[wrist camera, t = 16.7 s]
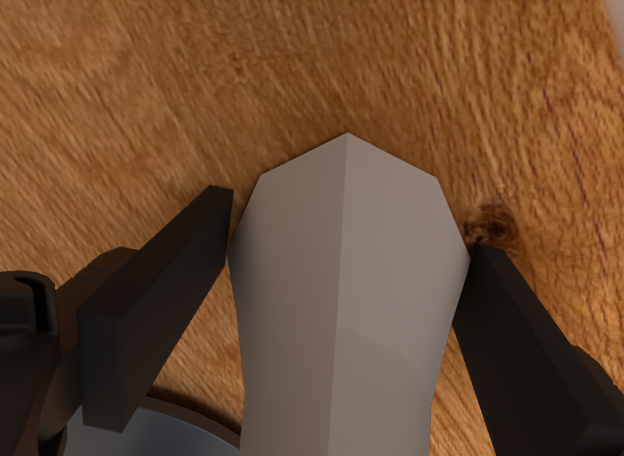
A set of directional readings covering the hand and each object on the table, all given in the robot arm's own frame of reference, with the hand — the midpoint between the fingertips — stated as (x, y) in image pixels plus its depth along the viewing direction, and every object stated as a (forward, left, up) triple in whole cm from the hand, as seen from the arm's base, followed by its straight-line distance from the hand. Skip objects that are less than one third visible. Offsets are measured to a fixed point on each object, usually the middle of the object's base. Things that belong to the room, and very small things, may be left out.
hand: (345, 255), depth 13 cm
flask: (0, 0, 0) cm, 0 cm away
